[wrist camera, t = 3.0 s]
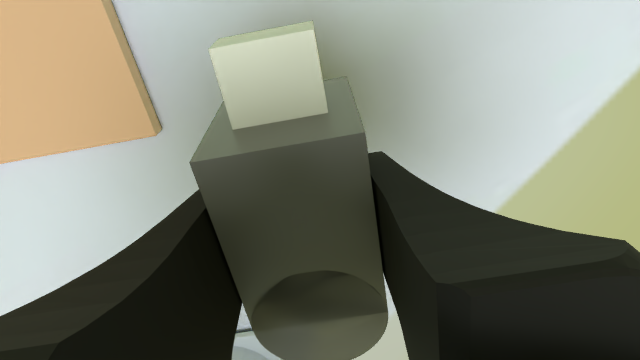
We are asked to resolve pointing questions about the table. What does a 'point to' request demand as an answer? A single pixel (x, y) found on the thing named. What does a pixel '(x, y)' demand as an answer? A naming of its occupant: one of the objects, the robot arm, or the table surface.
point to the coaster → (67, 79)
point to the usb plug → (293, 197)
